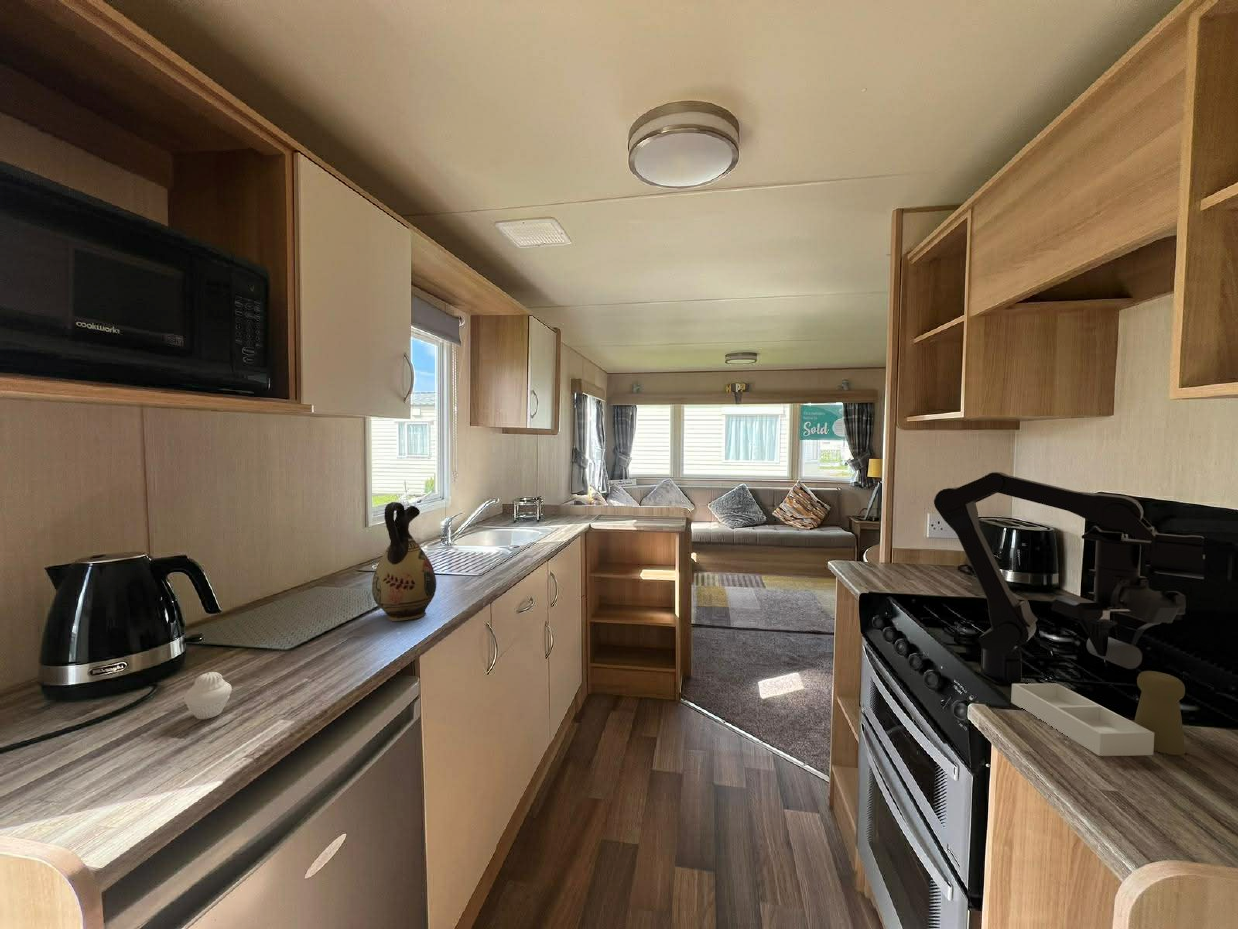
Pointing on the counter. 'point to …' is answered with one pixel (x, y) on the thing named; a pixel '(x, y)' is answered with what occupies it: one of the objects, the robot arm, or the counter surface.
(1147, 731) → the slot tray
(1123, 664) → the dark grey cylinder
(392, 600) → the ceramic jug
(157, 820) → the counter surface
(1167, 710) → the cork
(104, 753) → the counter surface
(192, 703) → the muffin
